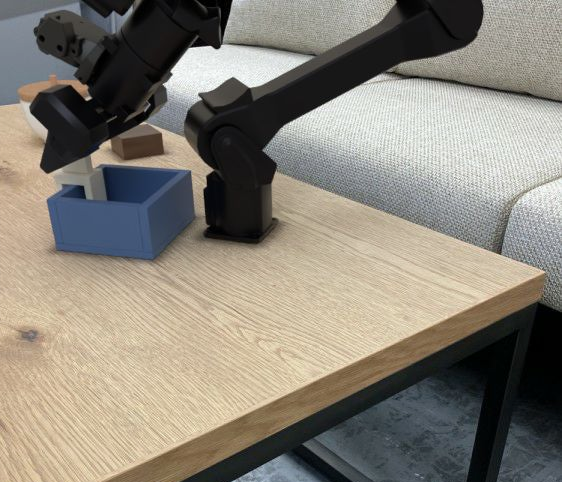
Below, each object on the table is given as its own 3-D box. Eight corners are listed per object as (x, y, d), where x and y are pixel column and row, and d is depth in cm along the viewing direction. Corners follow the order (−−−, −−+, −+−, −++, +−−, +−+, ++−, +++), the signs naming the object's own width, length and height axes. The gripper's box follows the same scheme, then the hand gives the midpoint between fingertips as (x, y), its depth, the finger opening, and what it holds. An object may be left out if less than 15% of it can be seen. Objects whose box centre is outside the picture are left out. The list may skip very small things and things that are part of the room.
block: (164, 153, 102) (162, 132, 100) (124, 160, 99) (121, 138, 97) (150, 143, 106) (147, 123, 104) (111, 149, 104) (108, 129, 102)
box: (195, 217, 81) (191, 169, 77) (153, 260, 71) (147, 207, 68) (108, 209, 83) (101, 163, 80) (56, 250, 73) (45, 199, 70)
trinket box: (26, 135, 111) (12, 71, 106) (94, 128, 114) (84, 66, 109) (31, 153, 102) (16, 85, 97) (104, 145, 105) (94, 79, 100)
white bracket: (108, 208, 78) (94, 120, 72) (96, 218, 75) (80, 127, 70) (74, 205, 79) (58, 118, 73) (61, 215, 76) (43, 125, 71)
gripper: (126, -31, 71) (50, 81, 80) (25, -13, 56) (-55, 122, 65) (205, 56, 74) (123, 155, 82) (129, 95, 59) (39, 211, 67)
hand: (63, 158), depth 74 cm, fingers open, 8 cm apart
